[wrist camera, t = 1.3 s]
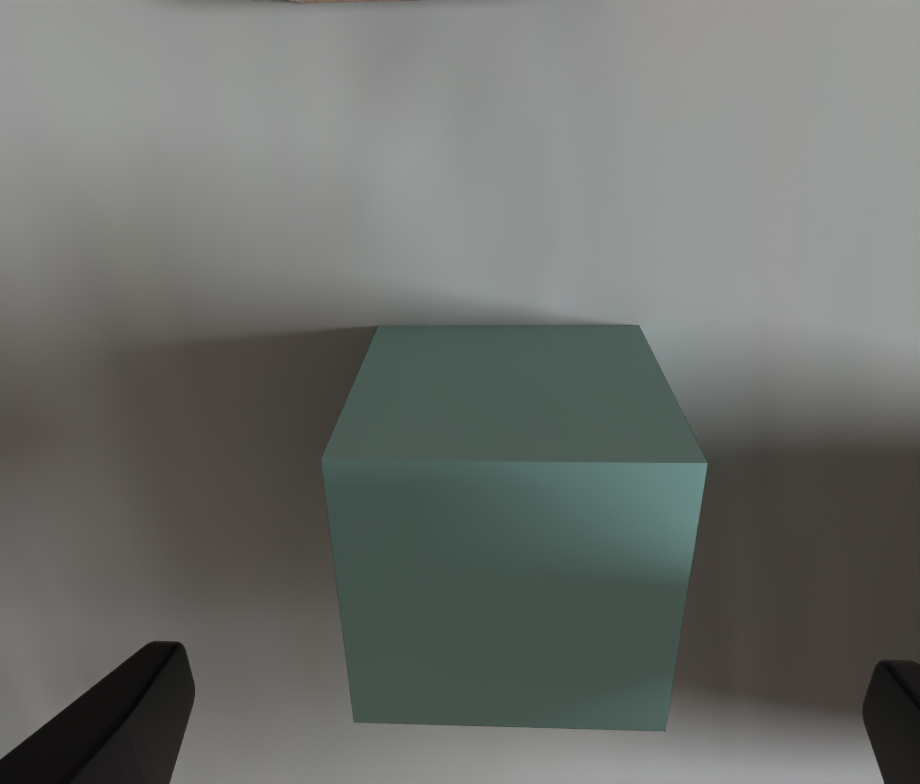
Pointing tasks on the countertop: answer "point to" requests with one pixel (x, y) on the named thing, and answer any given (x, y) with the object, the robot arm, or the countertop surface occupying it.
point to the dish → (341, 0)
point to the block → (512, 527)
